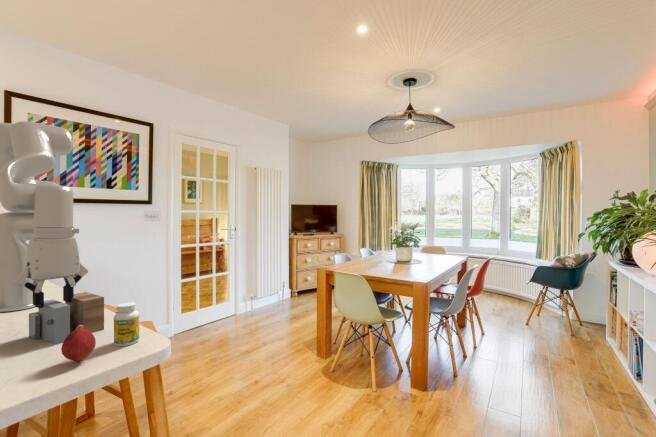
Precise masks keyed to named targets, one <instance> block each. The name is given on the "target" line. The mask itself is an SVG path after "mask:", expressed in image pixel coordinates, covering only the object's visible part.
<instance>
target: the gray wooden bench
mask: <svg viewBox="0 0 656 437" xmlns="http://www.w3.org/2000/svg"><path fill="white" fill-rule="evenodd" d="M28 337H29V338H31V339H32V340H35V341H37V340H40V339H41V337H40V315H38V311H35V312H32V313H28Z"/></svg>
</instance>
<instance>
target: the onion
mask: <svg viewBox="0 0 656 437" xmlns="http://www.w3.org/2000/svg"><path fill="white" fill-rule="evenodd" d="M83 327H84V326H83V325H79V326H78V327H77V328H76V329H75V330H74V331H70V334H69V335H68V336H67V337H66V338H65V340H64V342H63V343H61V344H62V345H61V349H60V350H61V354H62V356H63V357H64V358H66V359H67V360H70V361H72V362H76V363H82V362H83V361H84V360H85V359H86V358H87V357H89V355H91V354H92V352H93V351H94V350H95V348H96V344H97V341H96V337H95V335H94V333H91V332H89V331H87V330H85V329H83Z"/></svg>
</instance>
